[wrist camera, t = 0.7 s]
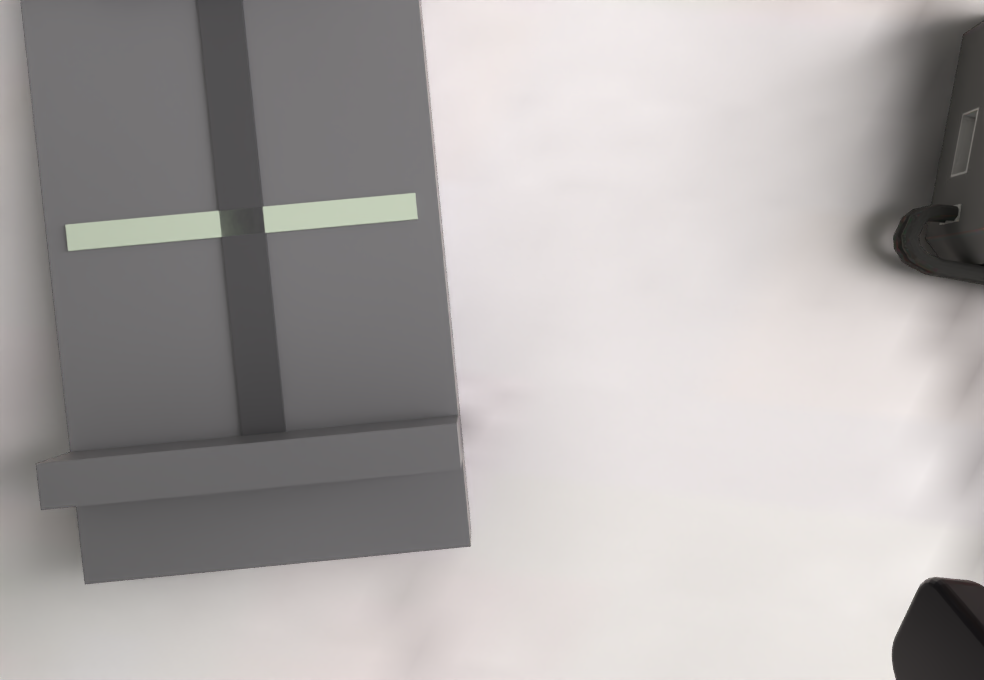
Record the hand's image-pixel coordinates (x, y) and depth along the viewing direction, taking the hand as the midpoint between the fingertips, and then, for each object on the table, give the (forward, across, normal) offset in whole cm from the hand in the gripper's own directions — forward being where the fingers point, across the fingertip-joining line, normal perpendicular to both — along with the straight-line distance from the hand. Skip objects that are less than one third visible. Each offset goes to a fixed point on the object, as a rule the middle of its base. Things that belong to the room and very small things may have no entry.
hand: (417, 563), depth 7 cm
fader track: (+15, +6, 0) cm, 16 cm away
